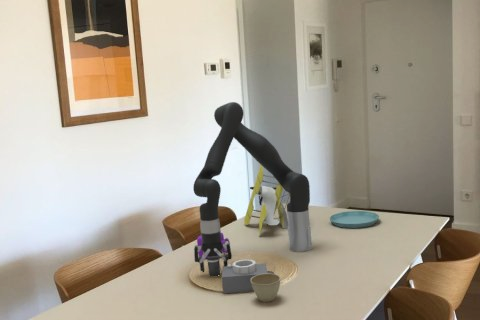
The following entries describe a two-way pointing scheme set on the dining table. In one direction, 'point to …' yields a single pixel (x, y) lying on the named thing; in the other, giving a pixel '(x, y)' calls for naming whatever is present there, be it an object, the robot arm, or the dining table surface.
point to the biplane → (267, 202)
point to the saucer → (354, 219)
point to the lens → (214, 265)
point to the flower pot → (266, 286)
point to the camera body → (241, 275)
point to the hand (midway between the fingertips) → (214, 270)
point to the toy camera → (224, 241)
